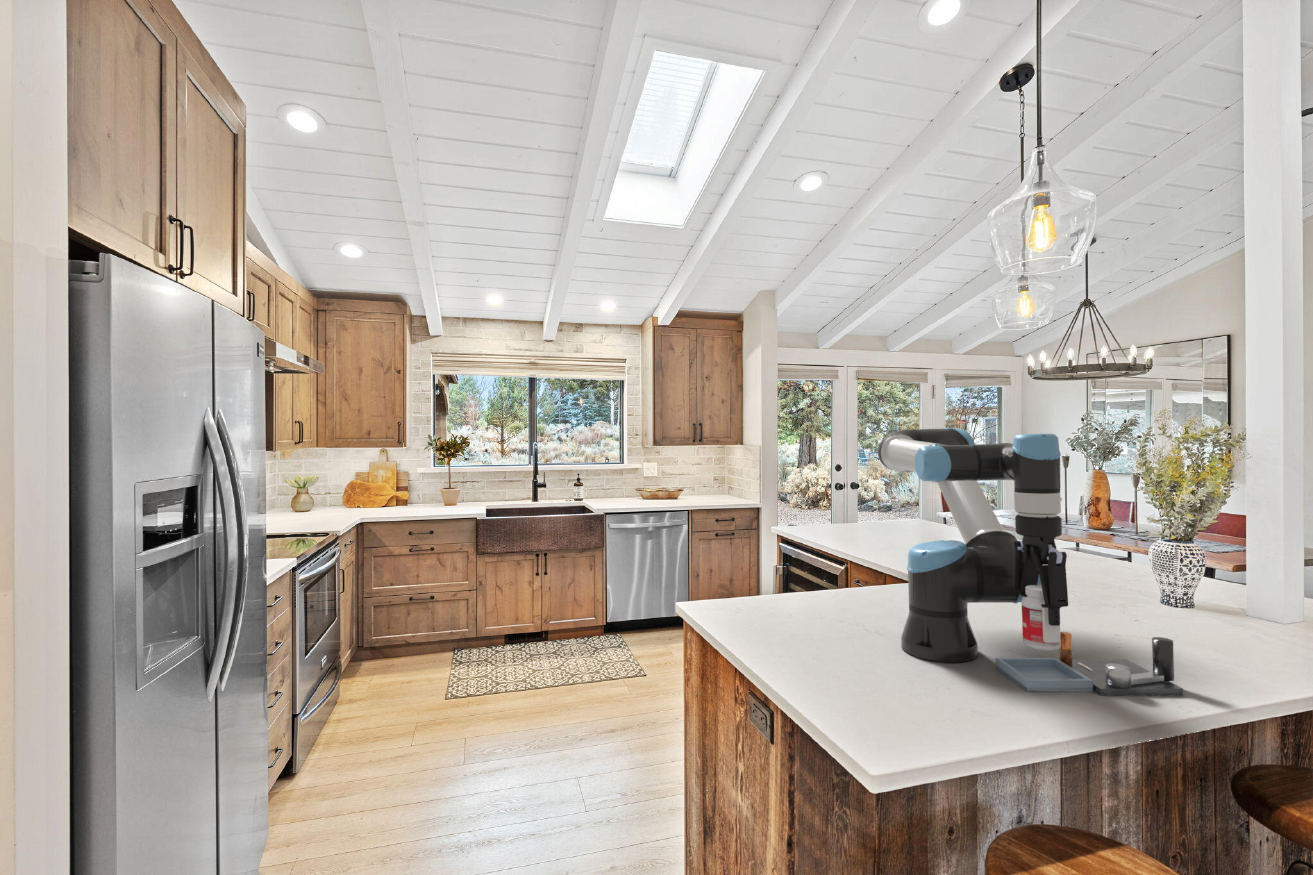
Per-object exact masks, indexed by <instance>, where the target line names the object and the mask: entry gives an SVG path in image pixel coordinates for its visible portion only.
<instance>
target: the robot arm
mask: <svg viewBox="0 0 1313 875" xmlns="http://www.w3.org/2000/svg"><path fill="white" fill-rule="evenodd" d="M1059 441H1060V440H1059V437H1058V436H1057V435H1056V434H1054V433H1025V434H1024V433H1022V434H1021V433H1019V434H1016V435H1015V436H1014V437H1013V441H1012V442H1005V443H1004V442H1000V443H988V444H986V443H983V444H976V443H975V441H974V439H973V437H972V434H970V433H969V432H968V431H967V430H965V429H963V428H952V427H945V428H920V429H918V428H916V429H914V428H913V429H910V428H909V429H901V430H896V431H894V432H891V433H889V434H887V435H886V436H885V437H883V439H882V440H881V441H880V442H879V444H878V447H877V457H878V459H879V462H880V463H881V465H882V466H883V467H885V468H887V469H888V470H890V471H894V472H902V473H915V474H916V475H917V476H918V479H920V480H921V481H923V482H932V483H934V484H936V485H938V487H939V489H940V492H941V495H942V497H943V499H944V501H945V503H946V505H947V508H948V509H949V511H950V513H951V514H950V515H951V516H952V517H953V520H954V522H955V525H956V526H957V529H958V531H959V533H960V535H961V538H962V540H963V541H959V540H953V539H952V540H942V539H941V540H933V541H926V542H921V543H918V544H915V545H914V546H911V548H910V549H909V550H908V554H907V566H906V570H907V579H908V580H907V583H908V587H907V588H908V615H907V619H906V621H905V624H904V626H903V627H904V628H903V630H902V633H901V640H900V641H901V642H900V643H901V645H900V646H901V649H902V650H903V651H904V652H906V653H907V654H909V655H911V656H913V657H916V658H919V659H924V660H927V661H931V662H932V661H933V662H940V663H963V662H964V663H965V662H970V661H972V660H973V661H974V660H975V659H976V658H978V655H979V649H978V647H979V646H978V642H977V639H976V636H975V634H974V631H973V628H972V625H971V622H970V620H969V614H968V613H969V611H968V604H969V603H971V604H972V603H973V604H974V603H976V604H977V603H986V604H987V603H988V604H989V603H993V604H994V603H998V604H999V603H1001V604H1003V603H1004V604H1005V603H1009V604H1010V603H1013V604H1018V603H1022V600H1023V599H1024V598H1026V597H1027V595H1026V593H1025V587H1026V586H1029V585H1041V586H1042V591H1043V596H1044V601H1045V604H1041V606H1042V620H1043V641H1044V642H1061V639H1060V632H1061V608H1064V607H1067V608H1068V606H1069V595H1068V581H1067V569H1066V568H1067V566H1066V564H1067V557H1068V555H1067V553H1066V552H1065V551H1059V550H1058V549H1057V546H1056V541H1055V538H1058V537H1061V535H1063V530H1062V529H1063V528H1062V527H1063V526H1062V525H1063V523H1062V522H1063V521H1062V518H1061V516H1060V515H1059V514H1061V512H1062V507H1061V506H1062V504H1061V502H1062V500H1063V499H1062V497H1061V451H1060V444H1059V443H1060V442H1059ZM978 481H979V482H980V481H1014V488H1013V489H1014V492H1013V494H1014V495H1013V496H1014V511H1015V513H1018V514H1016V515H1015V517H1014V520H1015V521H1014V522H1015V523H1014V524H1015V532H1016V534H1017V535H1019V536H1022V539H1021V540H1018V539H1017V538H1016V535H1014V534H1012V532H1009V531H1007V530H1004V529H1003V526H1002V525H1001V523H1000V521H999V519H998V517H997V516H996V514H995V512H994V510H993V508H992V506H991V505H990V503H989V500H988V499H987V497H986V495H985V493H984V492H983V490H982V487H981V485H980V484H979V482H978Z"/></svg>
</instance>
